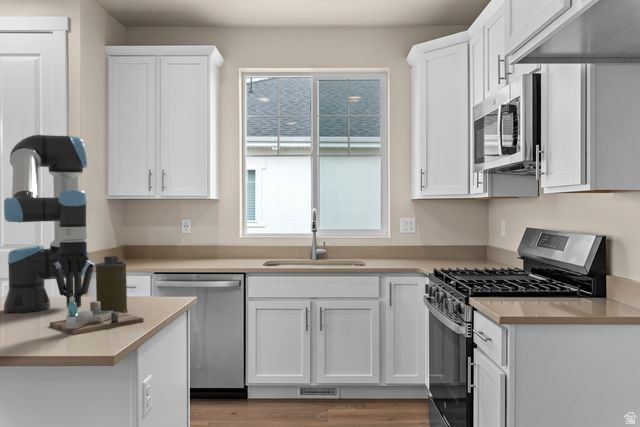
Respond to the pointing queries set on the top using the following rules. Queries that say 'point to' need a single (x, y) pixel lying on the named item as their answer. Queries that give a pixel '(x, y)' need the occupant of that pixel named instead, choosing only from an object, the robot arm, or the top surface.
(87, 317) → the square loop handle
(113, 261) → the canister
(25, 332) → the top surface
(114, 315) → the dowel
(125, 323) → the board
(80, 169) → the robot arm
